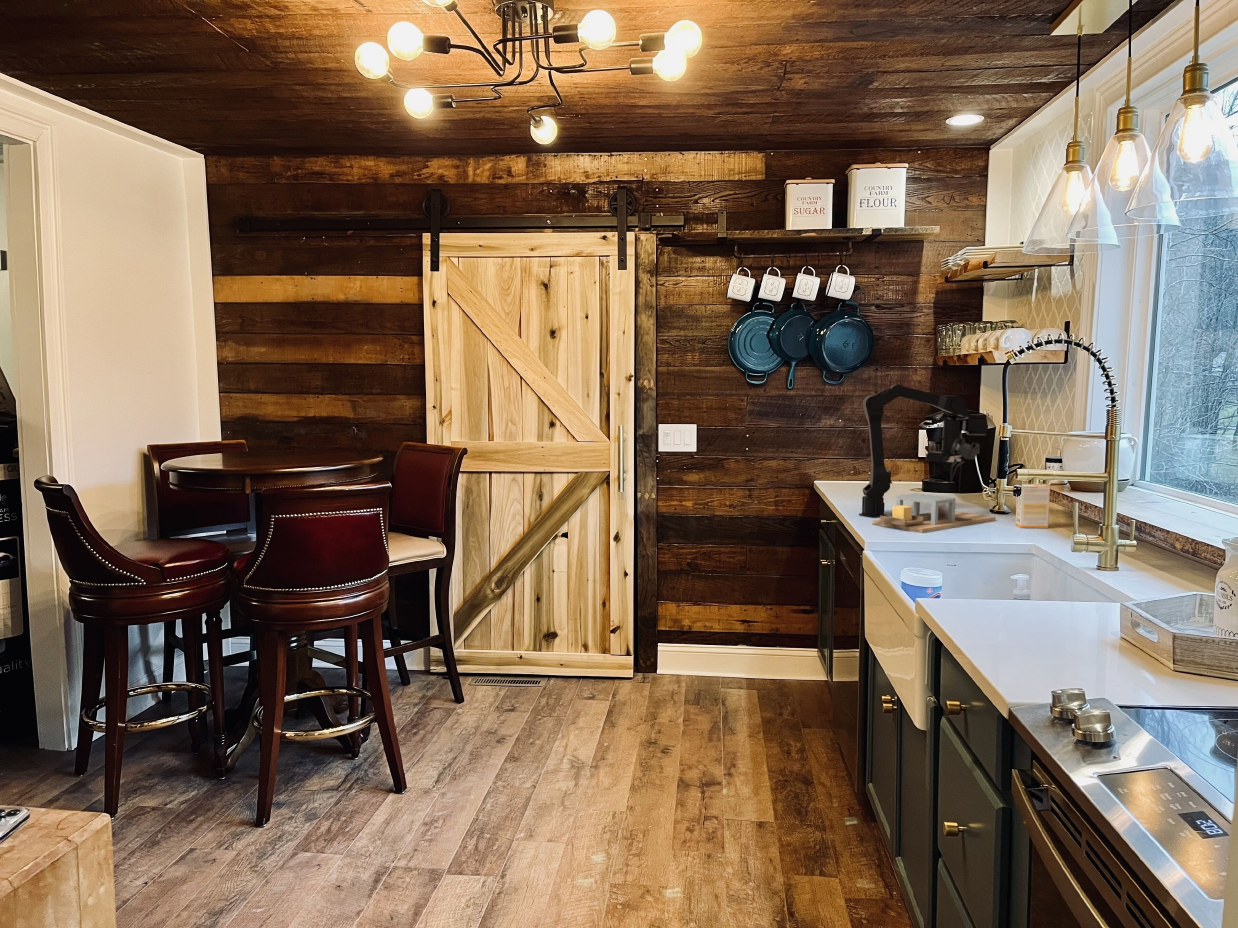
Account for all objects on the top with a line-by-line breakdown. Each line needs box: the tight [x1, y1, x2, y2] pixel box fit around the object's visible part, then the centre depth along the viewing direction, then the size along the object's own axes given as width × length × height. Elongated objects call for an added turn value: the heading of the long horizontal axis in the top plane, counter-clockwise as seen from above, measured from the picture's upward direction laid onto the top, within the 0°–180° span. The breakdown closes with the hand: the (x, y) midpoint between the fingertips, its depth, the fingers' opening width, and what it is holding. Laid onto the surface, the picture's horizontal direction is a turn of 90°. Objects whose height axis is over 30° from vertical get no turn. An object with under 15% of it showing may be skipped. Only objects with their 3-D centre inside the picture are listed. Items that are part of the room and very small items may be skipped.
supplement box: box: [1015, 483, 1051, 529], centre depth 264 cm, size 8×5×13 cm, turn 84°
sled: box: [879, 495, 952, 526], centre depth 268 cm, size 9×26×6 cm, turn 125°
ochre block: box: [891, 504, 913, 521], centre depth 263 cm, size 4×4×4 cm
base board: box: [871, 510, 997, 534], centre depth 272 cm, size 18×38×1 cm, turn 125°
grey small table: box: [895, 493, 956, 525], centre depth 269 cm, size 14×10×8 cm
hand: (949, 482), depth 281 cm, fingers closed
